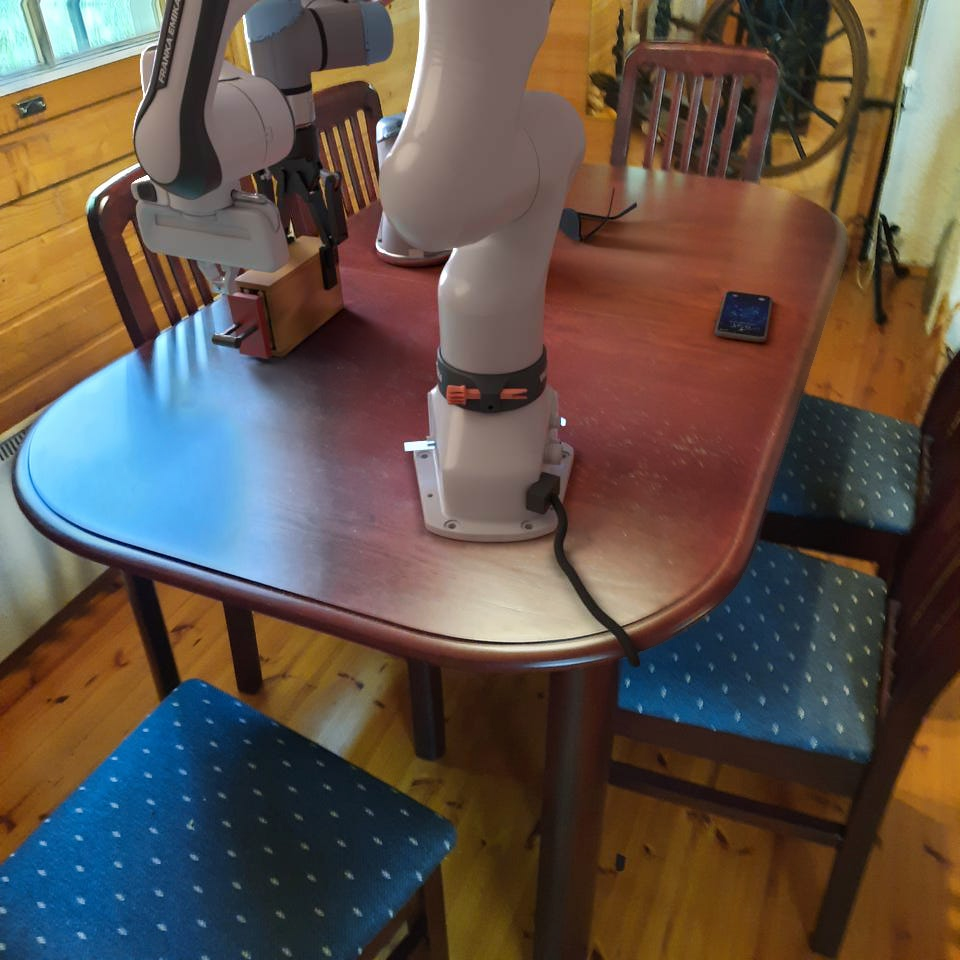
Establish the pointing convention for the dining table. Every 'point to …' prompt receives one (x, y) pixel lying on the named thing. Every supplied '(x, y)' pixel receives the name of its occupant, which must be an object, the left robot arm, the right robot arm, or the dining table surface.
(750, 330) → the smartphone
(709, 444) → the dining table surface
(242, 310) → the drawer
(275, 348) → the cabinet
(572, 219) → the sunglasses
